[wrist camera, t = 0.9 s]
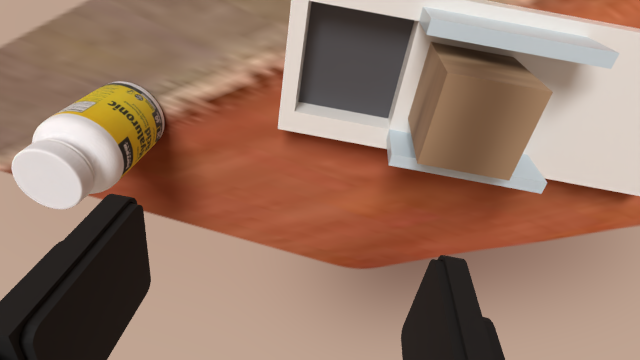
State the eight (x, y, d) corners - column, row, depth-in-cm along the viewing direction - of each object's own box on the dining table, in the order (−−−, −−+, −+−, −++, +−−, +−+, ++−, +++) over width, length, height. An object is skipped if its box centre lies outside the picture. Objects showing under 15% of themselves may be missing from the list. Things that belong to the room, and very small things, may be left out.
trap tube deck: (725, 44, 24) (810, 72, 19) (630, 181, 30) (679, 229, 25) (299, -35, 24) (283, -25, 20) (282, 117, 30) (267, 152, 25)
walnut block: (513, 57, 24) (553, 92, 19) (482, 132, 26) (509, 180, 21) (430, 41, 24) (447, 72, 19) (407, 118, 26) (417, 163, 21)
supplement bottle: (178, 138, 31) (111, 214, 23) (119, 150, 33) (34, 225, 24) (147, 72, 29) (59, 130, 20) (83, 86, 30) (-25, 147, 22)
